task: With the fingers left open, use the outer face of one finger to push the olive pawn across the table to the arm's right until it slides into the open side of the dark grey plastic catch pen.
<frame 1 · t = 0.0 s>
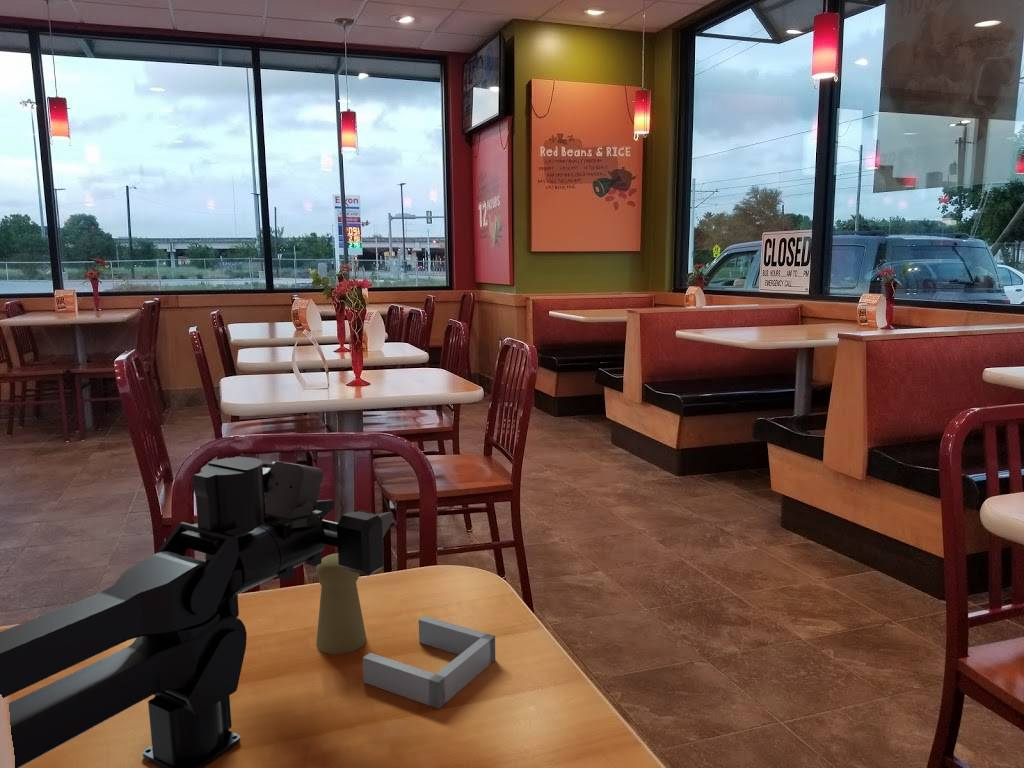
hand: (361, 509, 93), 17 cm above the table, tool horizontal, fingers open, 9 cm apart
olive pawn: (341, 643, 95), on the table
catch pen: (427, 669, 89), on the table
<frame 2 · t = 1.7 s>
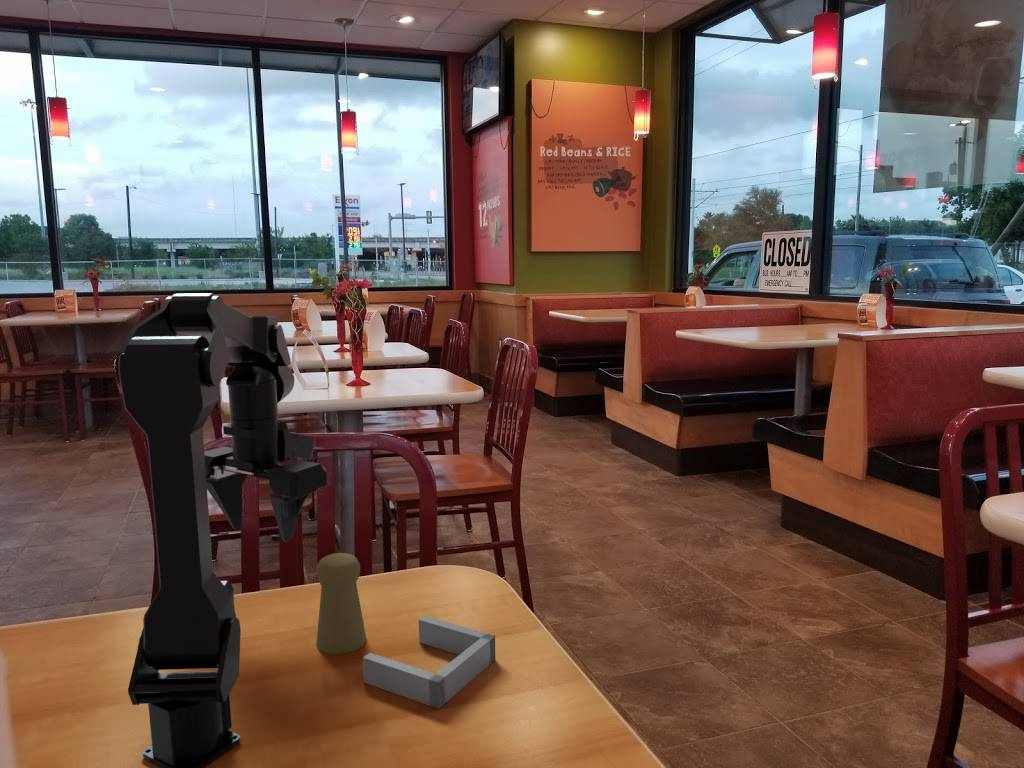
hand: (261, 534, 99), 11 cm above the table, tool pointing down, fingers open, 9 cm apart
nothing on the table moved.
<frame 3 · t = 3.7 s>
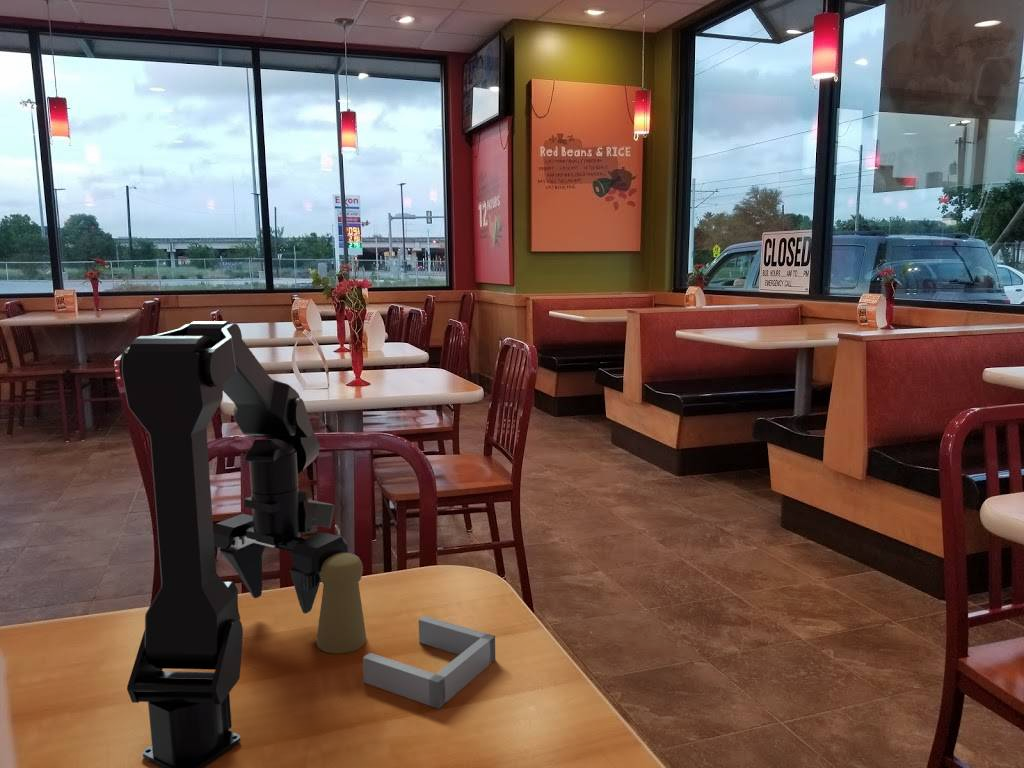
hand: (281, 604, 100), 3 cm above the table, tool pointing down, fingers open, 8 cm apart
nothing on the table moved.
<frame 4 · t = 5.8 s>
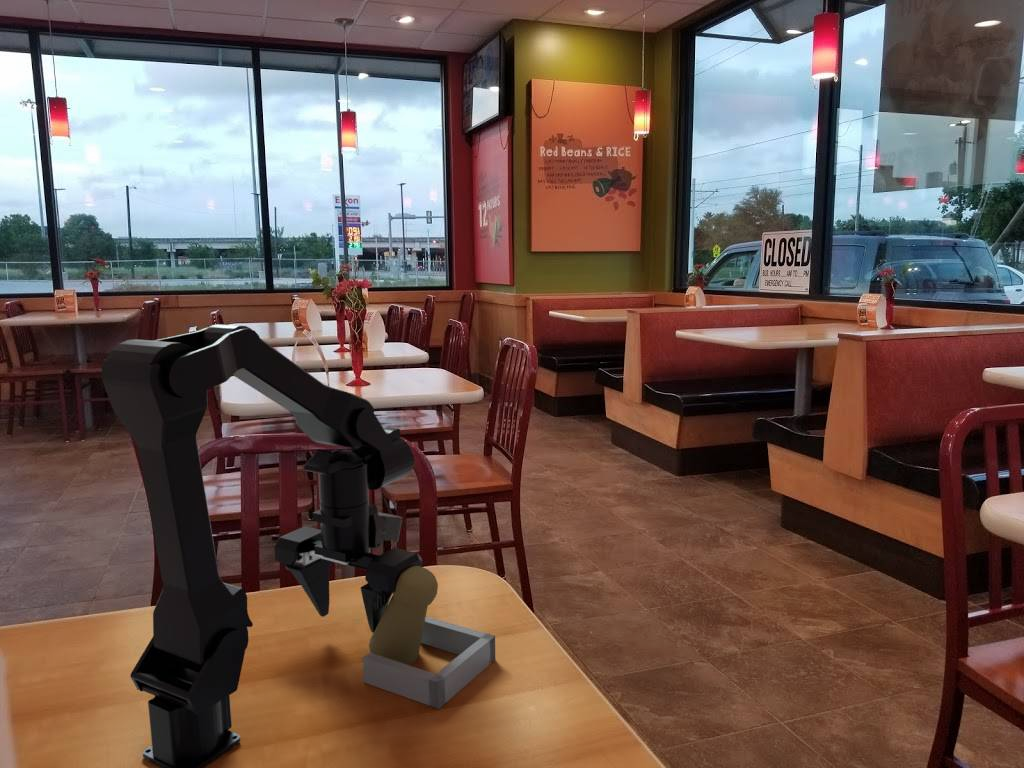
hand: (349, 623, 94), 3 cm above the table, tool pointing down, fingers open, 8 cm apart
olive pawn: (393, 649, 91), point 1 cm above the table, touching gripper
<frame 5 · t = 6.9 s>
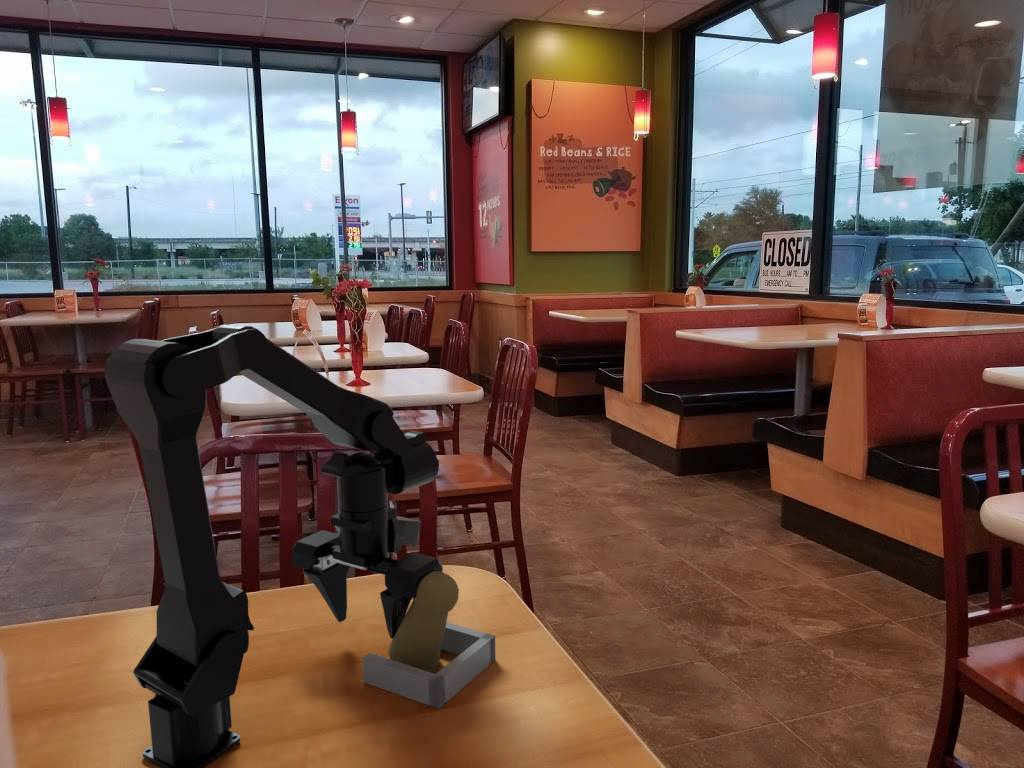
hand: (367, 628, 93), 3 cm above the table, tool pointing down, fingers open, 8 cm apart
olive pawn: (413, 656, 90), point 1 cm above the table, touching gripper
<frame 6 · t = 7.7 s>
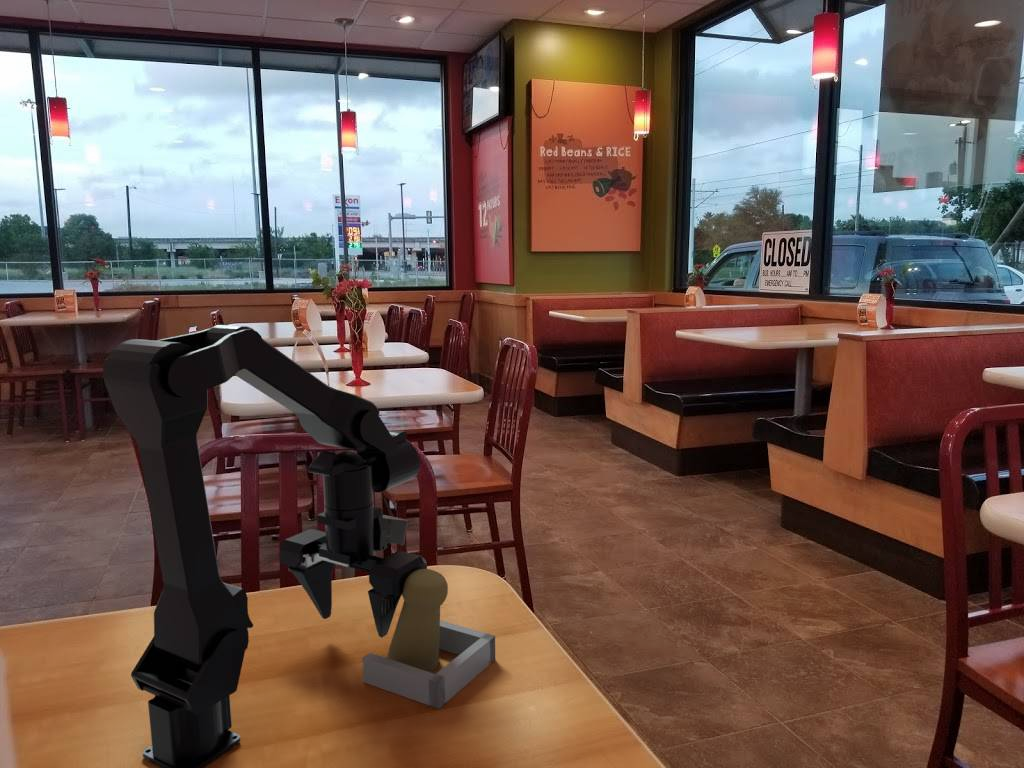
hand: (354, 626, 94), 3 cm above the table, tool pointing down, fingers open, 9 cm apart
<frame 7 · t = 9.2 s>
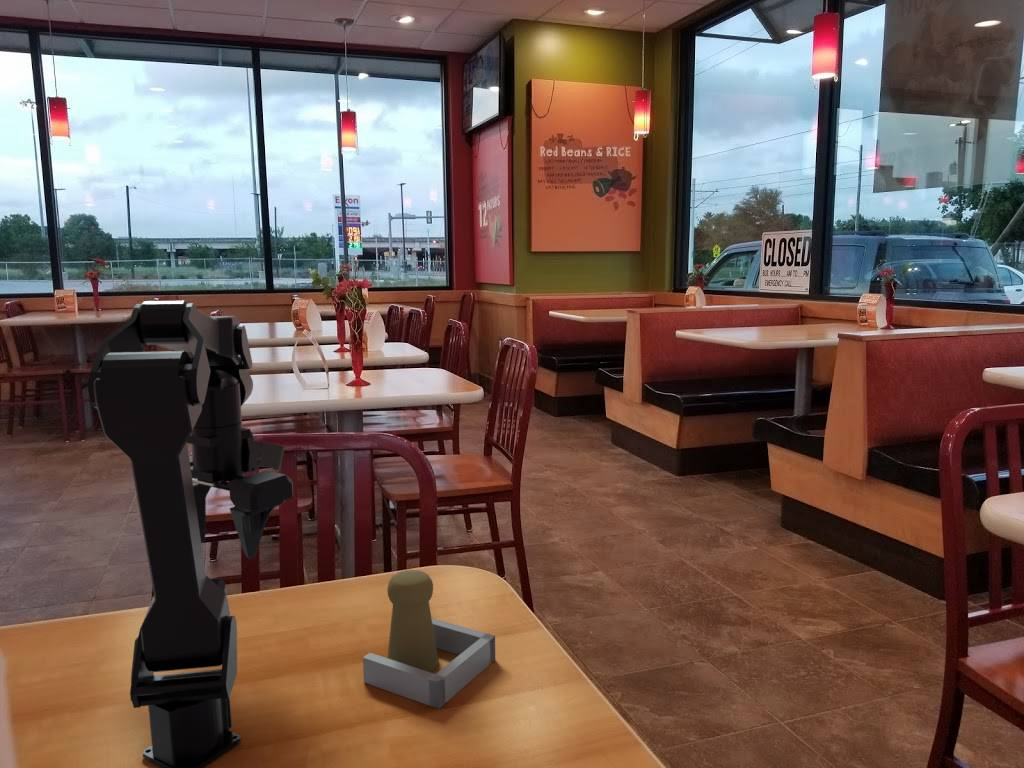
hand: (225, 549, 93), 12 cm above the table, tool pointing down, fingers open, 9 cm apart
olive pawn: (412, 665, 90), on the table
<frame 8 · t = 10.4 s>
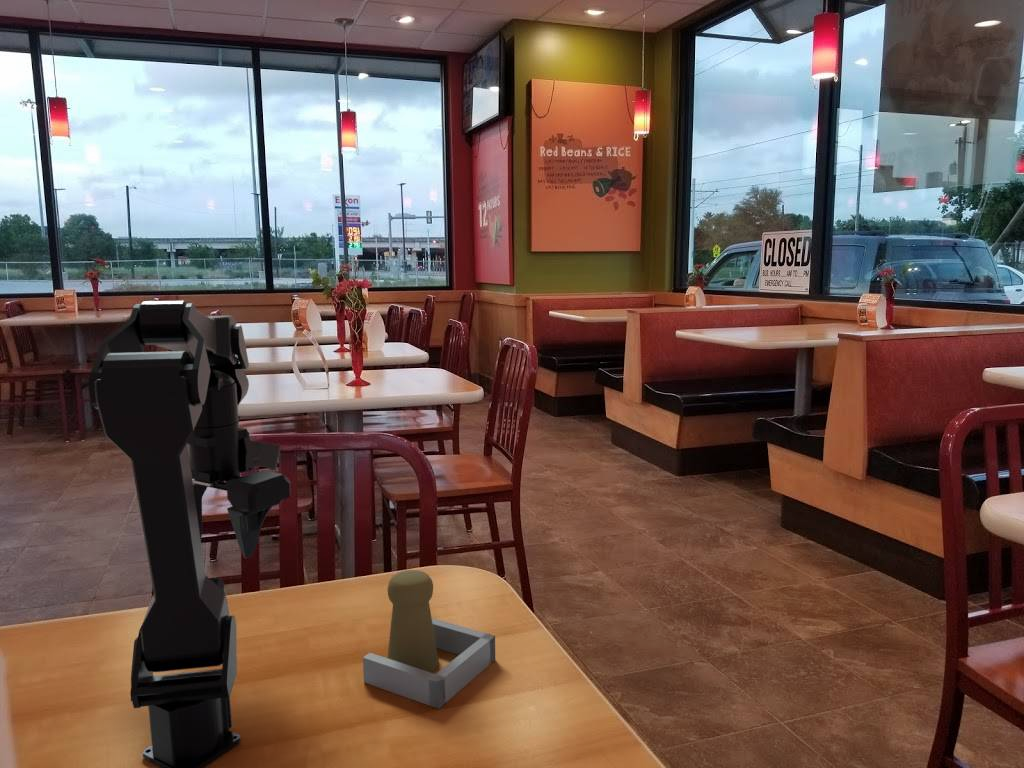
hand: (222, 549, 93), 12 cm above the table, tool pointing down, fingers open, 9 cm apart
nothing on the table moved.
at the end: olive pawn inside the target area on the catch pen (2.0 cm from its centre), point 0.0 cm above the catch pen's base; olive pawn tilted 0° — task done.
